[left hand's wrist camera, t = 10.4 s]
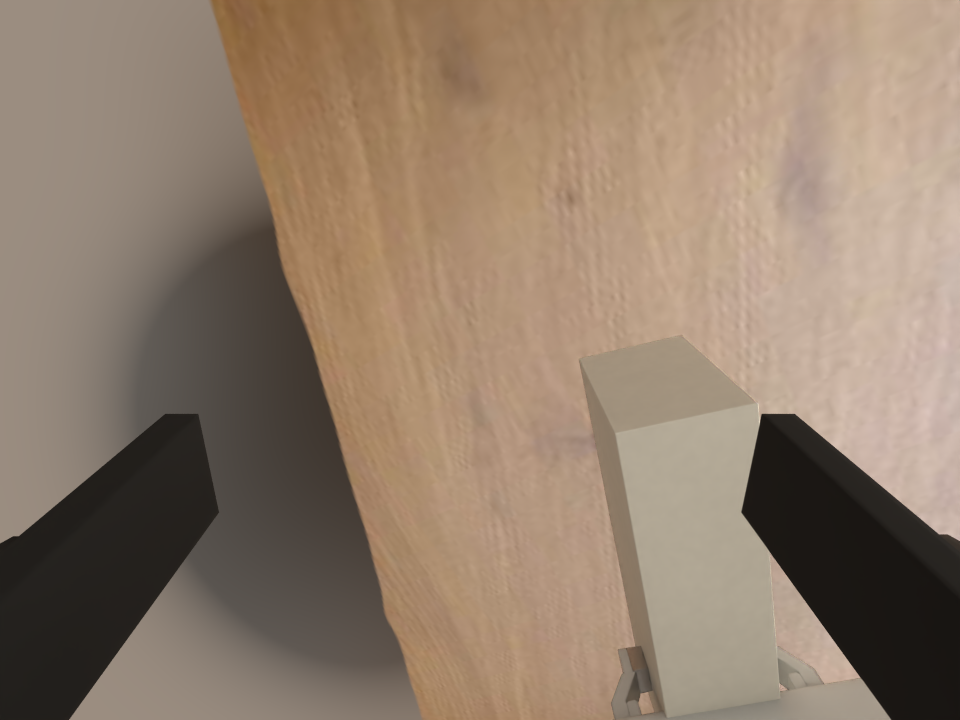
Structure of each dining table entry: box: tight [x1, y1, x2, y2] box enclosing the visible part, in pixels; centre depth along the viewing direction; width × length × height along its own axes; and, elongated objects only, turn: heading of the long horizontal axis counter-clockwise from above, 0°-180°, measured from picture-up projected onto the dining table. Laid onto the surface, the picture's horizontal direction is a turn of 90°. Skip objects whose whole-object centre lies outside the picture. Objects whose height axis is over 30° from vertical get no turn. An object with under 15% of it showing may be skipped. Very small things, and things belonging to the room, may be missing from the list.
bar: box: [579, 335, 780, 718], centre depth 28 cm, size 22×6×8 cm, turn 14°
